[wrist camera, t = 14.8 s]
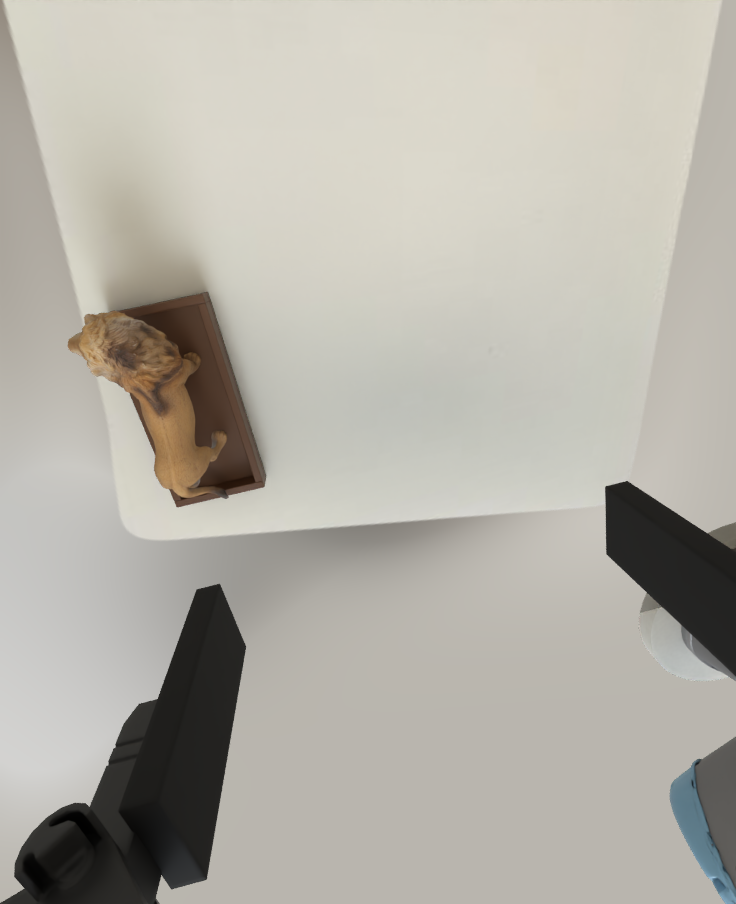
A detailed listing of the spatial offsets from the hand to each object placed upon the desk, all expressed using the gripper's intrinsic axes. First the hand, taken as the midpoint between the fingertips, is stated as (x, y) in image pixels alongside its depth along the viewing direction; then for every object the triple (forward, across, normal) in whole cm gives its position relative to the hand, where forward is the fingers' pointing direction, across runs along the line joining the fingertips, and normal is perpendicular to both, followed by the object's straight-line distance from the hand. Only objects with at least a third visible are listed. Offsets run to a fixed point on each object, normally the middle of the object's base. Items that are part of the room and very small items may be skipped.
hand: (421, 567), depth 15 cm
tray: (+24, -12, +2) cm, 27 cm away
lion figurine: (+23, -13, +2) cm, 27 cm away
